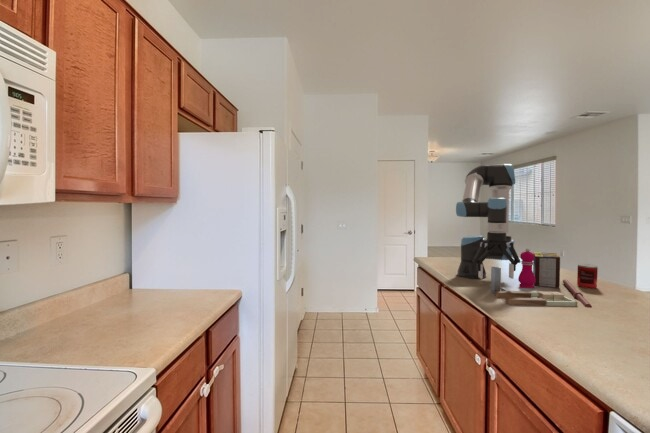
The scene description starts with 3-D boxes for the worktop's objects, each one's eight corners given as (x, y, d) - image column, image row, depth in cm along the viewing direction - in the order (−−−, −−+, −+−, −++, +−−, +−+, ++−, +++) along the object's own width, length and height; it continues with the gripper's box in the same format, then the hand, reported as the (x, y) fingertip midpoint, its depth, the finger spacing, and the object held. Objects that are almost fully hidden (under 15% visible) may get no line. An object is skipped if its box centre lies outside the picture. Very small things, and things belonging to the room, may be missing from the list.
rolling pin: (593, 311, 124) (593, 303, 124) (583, 310, 126) (583, 302, 125) (568, 284, 164) (569, 278, 164) (561, 284, 165) (561, 278, 165)
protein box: (555, 281, 169) (556, 253, 168) (559, 288, 155) (560, 257, 155) (532, 279, 174) (533, 251, 173) (534, 285, 161) (535, 255, 160)
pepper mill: (538, 290, 152) (539, 249, 151) (523, 290, 152) (524, 249, 151) (529, 286, 159) (530, 247, 158) (515, 286, 159) (515, 247, 158)
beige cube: (537, 300, 135) (537, 291, 135) (546, 300, 135) (547, 291, 135) (542, 303, 131) (543, 294, 131) (553, 303, 131) (553, 294, 131)
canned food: (589, 284, 162) (589, 263, 162) (601, 289, 154) (601, 266, 154) (573, 284, 163) (573, 263, 163) (584, 288, 155) (585, 266, 155)
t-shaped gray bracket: (489, 293, 147) (490, 266, 146) (504, 294, 146) (505, 266, 146) (495, 297, 141) (496, 268, 141) (510, 297, 141) (511, 268, 140)
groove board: (494, 297, 141) (494, 290, 141) (526, 298, 140) (526, 290, 140) (510, 308, 127) (510, 300, 127) (546, 308, 126) (546, 300, 126)
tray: (527, 298, 140) (527, 292, 140) (554, 298, 139) (554, 292, 139) (546, 308, 126) (547, 301, 126) (577, 308, 126) (577, 302, 126)
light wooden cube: (547, 300, 135) (547, 291, 135) (557, 301, 135) (557, 291, 134) (553, 303, 131) (554, 294, 131) (563, 304, 131) (564, 294, 130)
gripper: (471, 233, 140) (471, 280, 141) (530, 232, 138) (528, 280, 140) (465, 231, 147) (464, 275, 149) (520, 230, 146) (519, 275, 147)
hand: (495, 278), depth 144 cm, fingers open, 13 cm apart
